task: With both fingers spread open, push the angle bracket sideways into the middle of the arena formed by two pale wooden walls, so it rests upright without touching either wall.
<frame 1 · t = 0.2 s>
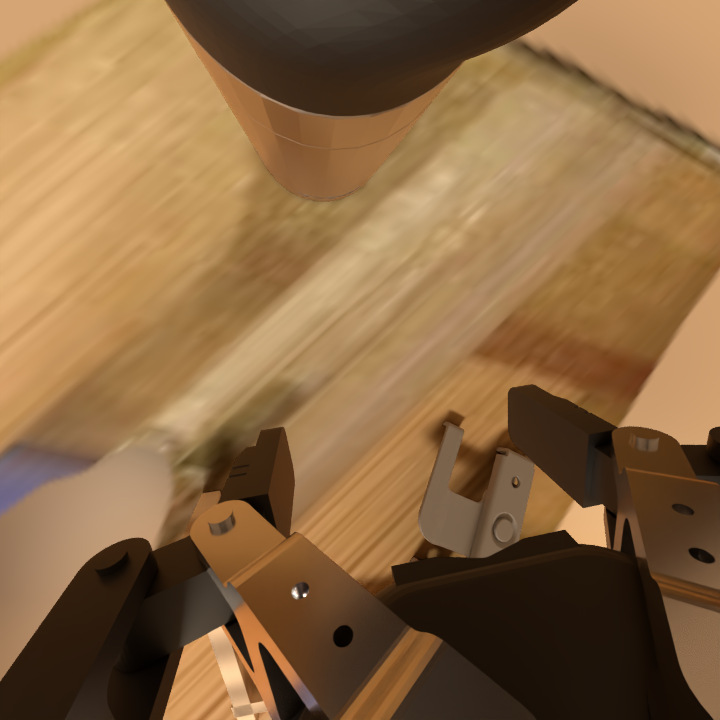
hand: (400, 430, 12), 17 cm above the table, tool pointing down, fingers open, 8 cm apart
fence: (321, 568, 36), on the table
bracket: (440, 498, 36), on the table
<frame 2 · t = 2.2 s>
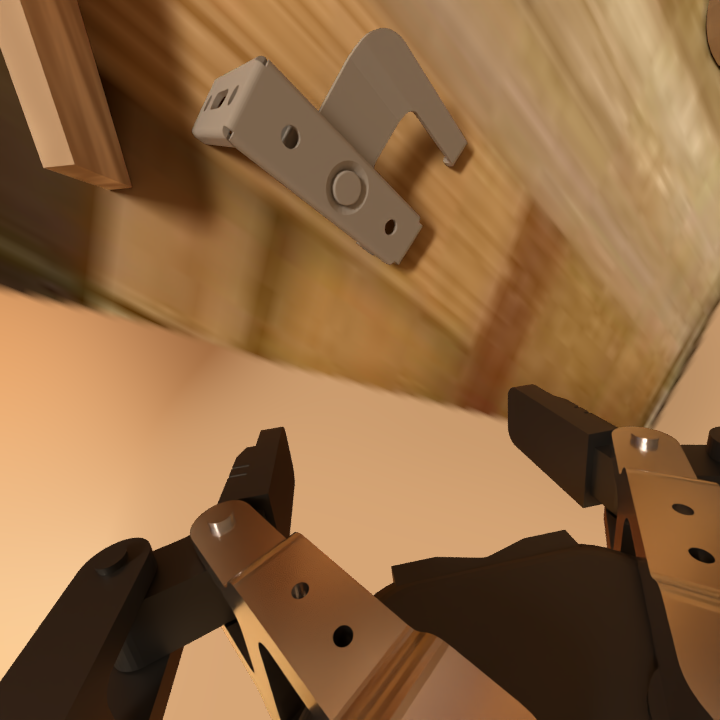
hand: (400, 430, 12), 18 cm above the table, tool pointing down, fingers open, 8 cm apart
bracket: (334, 144, 26), on the table
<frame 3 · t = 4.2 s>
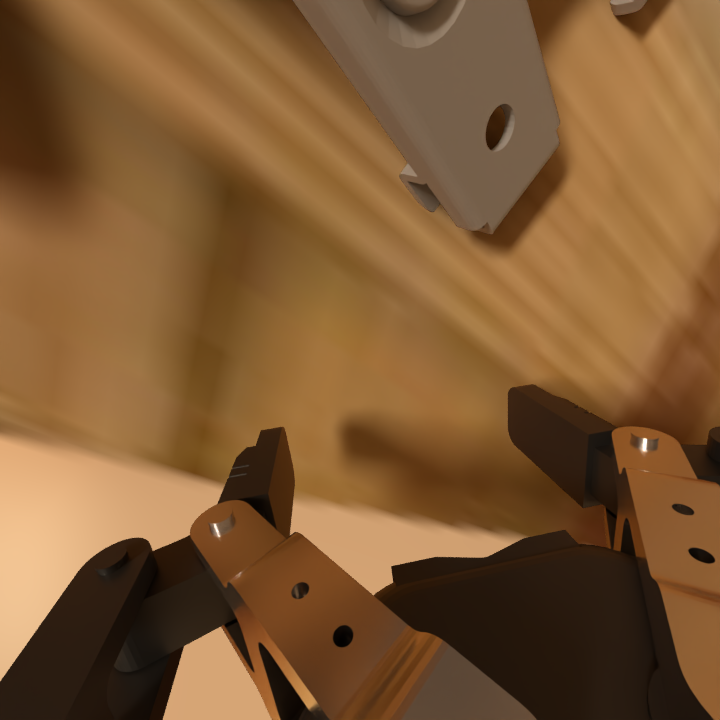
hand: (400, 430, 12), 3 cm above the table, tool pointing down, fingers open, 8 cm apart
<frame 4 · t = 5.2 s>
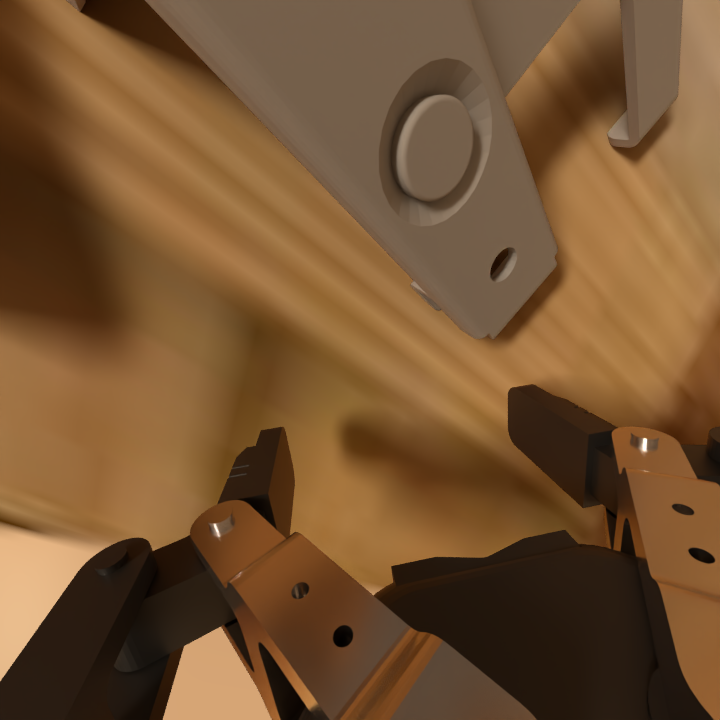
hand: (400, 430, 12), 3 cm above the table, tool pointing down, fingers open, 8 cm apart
bracket: (387, 67, 12), on the table
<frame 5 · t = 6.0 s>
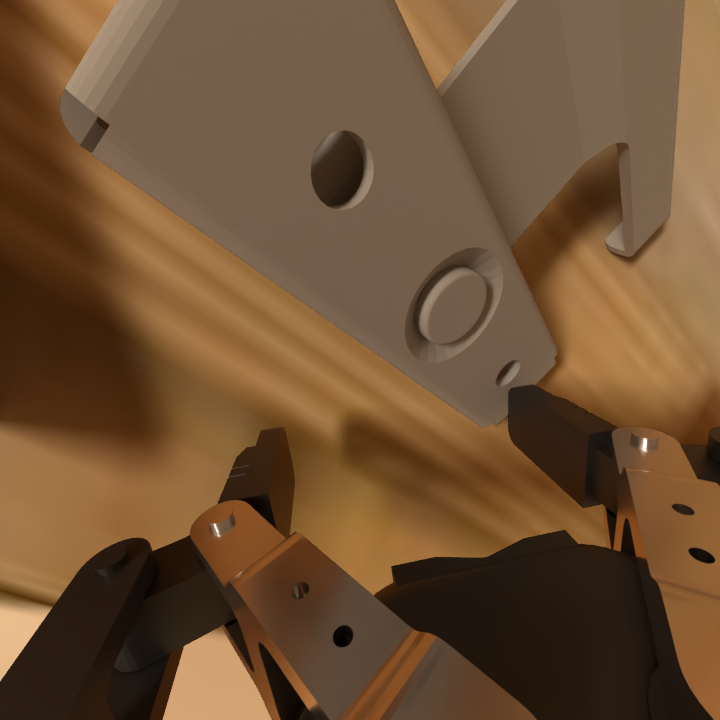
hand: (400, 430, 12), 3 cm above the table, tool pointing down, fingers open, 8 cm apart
bracket: (406, 180, 13), on the table, touching gripper
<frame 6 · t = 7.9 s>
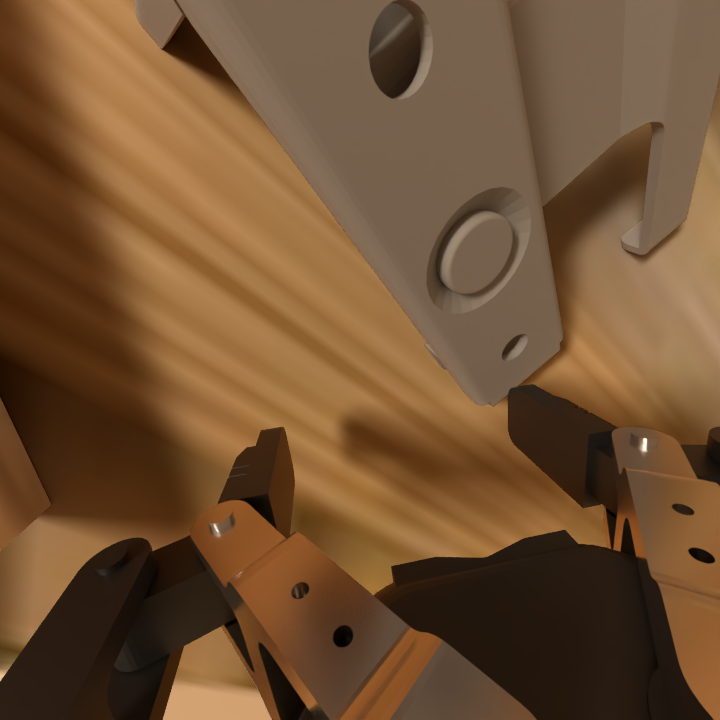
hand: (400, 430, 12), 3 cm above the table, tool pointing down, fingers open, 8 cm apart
fence: (170, 143, 11), on the table
bracket: (435, 145, 12), on the table
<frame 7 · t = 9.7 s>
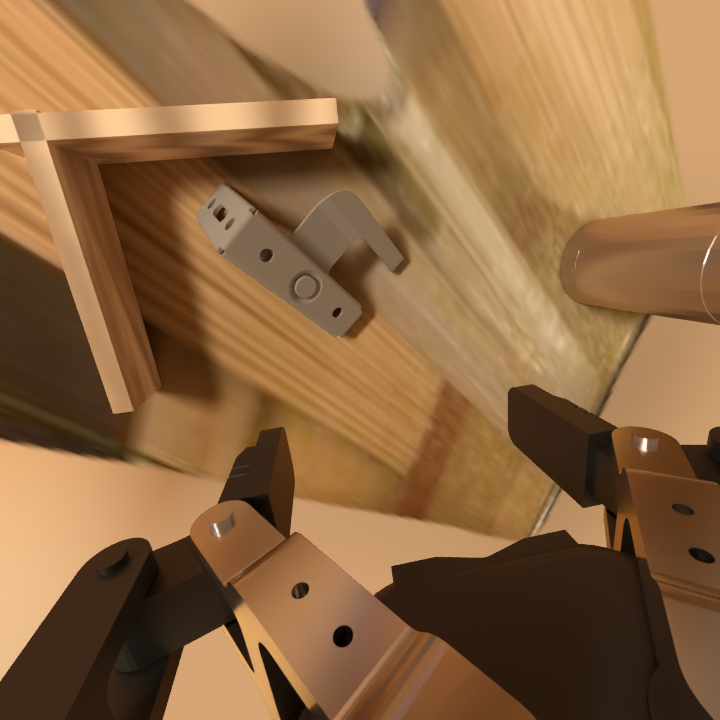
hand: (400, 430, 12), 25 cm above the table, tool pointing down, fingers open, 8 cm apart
fence: (218, 253, 32), on the table
bracket: (305, 240, 33), on the table
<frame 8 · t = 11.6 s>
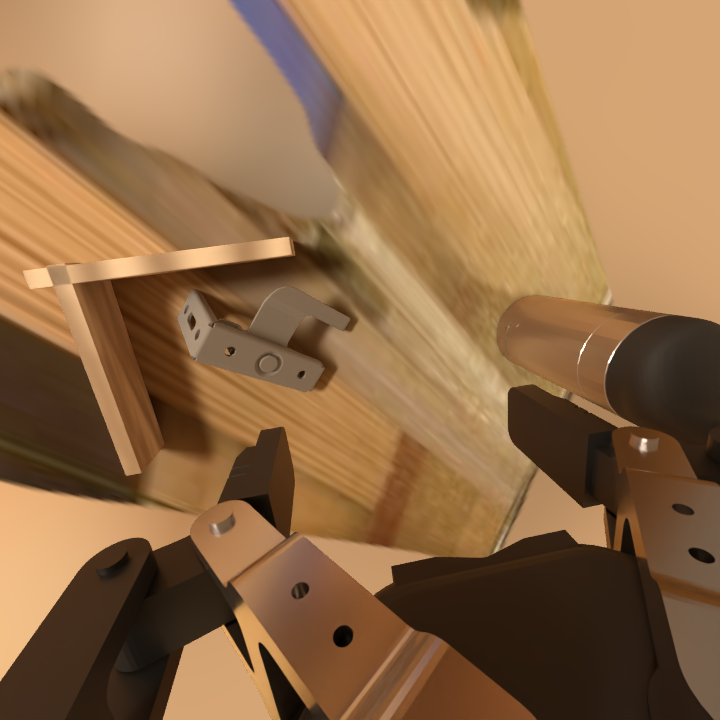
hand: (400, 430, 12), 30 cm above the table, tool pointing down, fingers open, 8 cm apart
fence: (206, 340, 40), on the table
bracket: (268, 318, 40), on the table
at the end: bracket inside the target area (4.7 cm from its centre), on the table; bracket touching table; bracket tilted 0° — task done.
